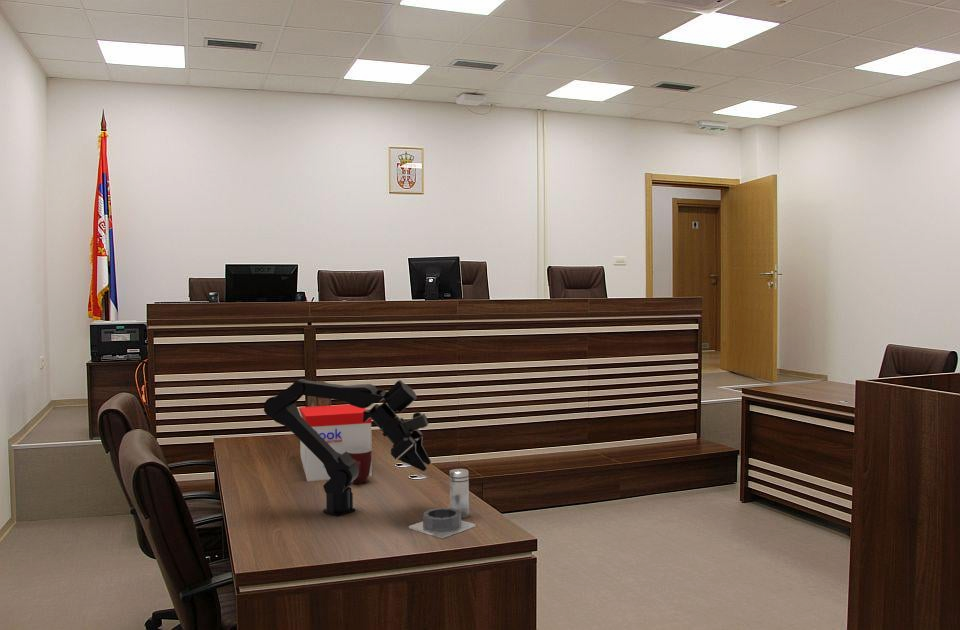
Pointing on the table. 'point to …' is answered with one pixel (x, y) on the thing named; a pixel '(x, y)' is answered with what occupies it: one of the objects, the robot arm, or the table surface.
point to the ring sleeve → (442, 523)
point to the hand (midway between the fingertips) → (427, 466)
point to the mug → (361, 462)
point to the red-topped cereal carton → (334, 434)
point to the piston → (459, 491)
